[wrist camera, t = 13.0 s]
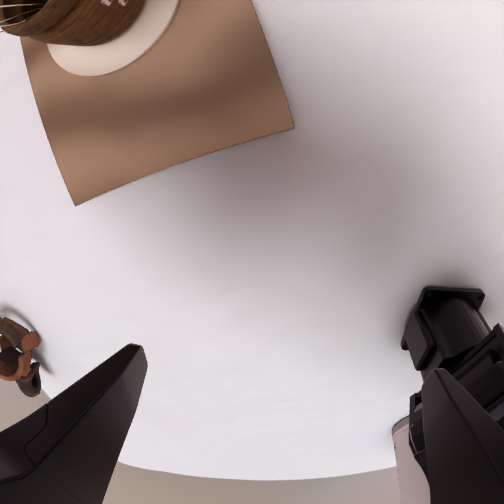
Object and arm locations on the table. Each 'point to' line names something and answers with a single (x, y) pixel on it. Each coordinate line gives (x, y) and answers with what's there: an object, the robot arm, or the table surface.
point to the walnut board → (156, 93)
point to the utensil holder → (69, 20)
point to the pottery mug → (19, 357)
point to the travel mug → (409, 468)
